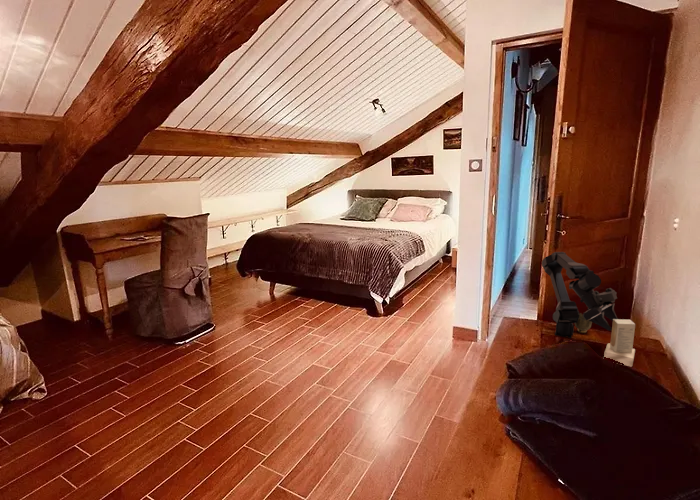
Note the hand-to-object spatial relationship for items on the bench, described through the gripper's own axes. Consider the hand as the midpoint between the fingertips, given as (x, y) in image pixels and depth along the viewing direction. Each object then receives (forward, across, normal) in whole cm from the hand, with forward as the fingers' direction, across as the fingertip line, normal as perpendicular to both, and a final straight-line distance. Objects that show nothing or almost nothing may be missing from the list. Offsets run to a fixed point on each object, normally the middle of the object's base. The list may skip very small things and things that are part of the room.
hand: (614, 326), depth 152 cm
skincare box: (+8, 0, +4) cm, 10 cm away
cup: (-2, +16, +20) cm, 26 cm away
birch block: (+11, 0, +7) cm, 13 cm away
